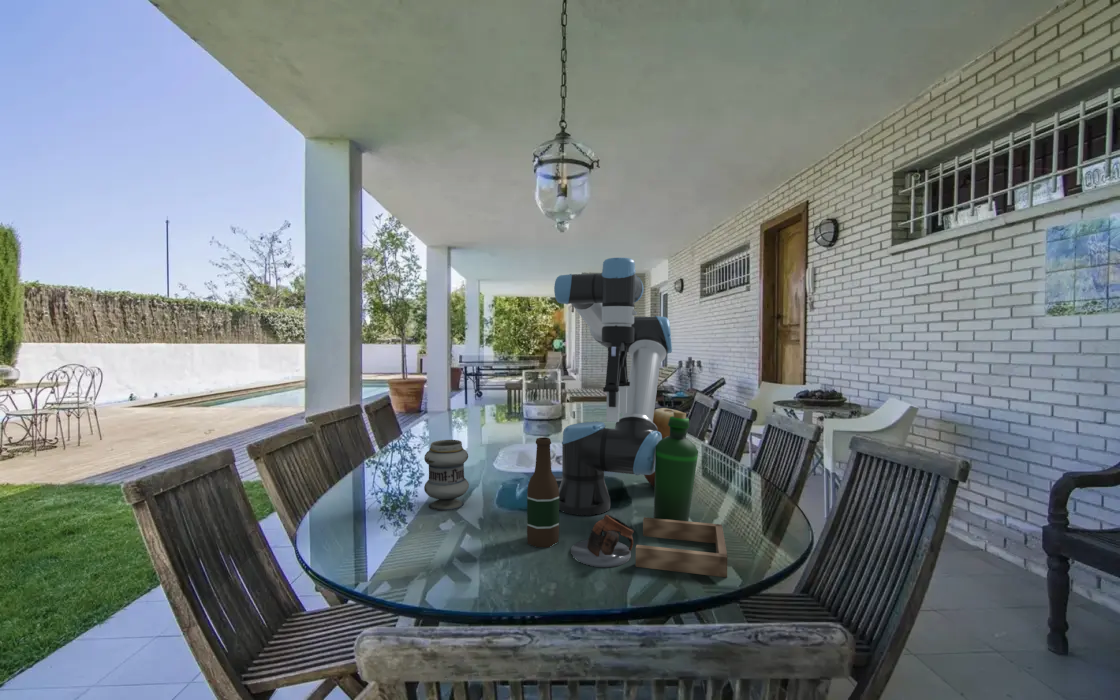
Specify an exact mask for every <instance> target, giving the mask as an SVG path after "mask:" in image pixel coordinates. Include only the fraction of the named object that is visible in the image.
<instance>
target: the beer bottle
mask: <svg viewBox="0 0 1120 700" xmlns="http://www.w3.org/2000/svg"><path fill="white" fill-rule="evenodd" d="M535 444H536V450H535V451H536V452H535V466H534V467H535V468H534V472H533V474H532V475H531V477H530V478H529V481H528V485H527V492H526V494H527V495H526V499H527V500H526V501H527V502H526V503H527V504H526V506H527V507H526V513H527V514H526V534H527V536H526V537H527V544H528V545H529V544H531V545H530V546H532V545H533V546H532V547H534V546H536V547H535V548H537V547H543V548H551V547H550V546H552V545H553V544H555V543H557V542H558V543H559V539H560V511H559V484H558V482H557V478H556V477H555V475H554V474H553V470H552V459H551V458H552V457H551V456H552V455H551V444H552V442H551V438H550V437H547V436H544V437H542V436H541V437H537V438H536V441H535ZM552 547H553V546H552Z"/></svg>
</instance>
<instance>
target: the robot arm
mask: <svg viewBox="0 0 1120 700" xmlns="http://www.w3.org/2000/svg"><path fill="white" fill-rule="evenodd" d="M635 262H636V261H635V260H634V259H633V258H630V257H610V258H607V259H604V261H603V263H602V269H601V270H602V271H601V273H573V274H572V273H569V274H560V275H559V276H557V277H556V278H555V280H554V286H553V287H554V290H553V291H554V296H555V297H554V298H555V300H556V301H557V303H559V304H564V305H572V307H573V308H574V309H575V311H576V312H577V313H578V315H579V316H580V317H581V318H582V319H583V321H584V322H585V323H586V325H587V326H588V327H589V332H590V336H592V338H593V339H594V340H595V341H596V342H598V344H599V345H602V346H603V347H604V348H607V361H606V362H607V363H606V364H607V365H606V374H605V385H604V387H603V388H602V391H603V392H604V393H606V413H605V414H606V418H605V419H606V420H605V421H606V422H607V423H608V422H609V423H611V422H612V423H613V422H614V423H615V425H614V428H608V427H606V424H605V423H604V421H585V422H578V423H572V424H570V425H568V426H566V427H565V428H564V429H563V431H562V442H561V445H562V447H561V448H562V449H561V450H562V456H561V458H562V459H561V460H562V469H561V474H562V475H561V482H560V484H559V486H558V488H559V510H561V511H564V512H566V513H565V514H567V513H570V514H569V515H572V514H578V515H577V516H584V515H586V516H596V515H595V514H597V515H602V514H604V512H605V513H607V512H608V511H609V510H610V509H611V497H610V495H609V491H608V487H607V485H606V484H607V483H606V481H605V473H607V472H608V473H618V474H627V475H635V476H640V475H641V476H644V475H651V474H653V473H654V472H655V457H656V445H657V444H658V442H659V441H660V440H661V439H662V435H661V433H660V432H658V431H657V426H656V425H655V424H654V423H653V417H654V410H655V408H656V401H657V399H656V398H657V391H658V383H659V376H660V366H661V363H662V362H663V361H664V360H666V357H667V354H671V353H673V346H672V345H673V342H672V333H671V332H672V331H671V323H670V320H669V318H668V317H667V316H659V315H654V316H637V315H638V311H636V310H635V303H636V302H638V301H639V300H640V299H641V298H642V296H643V294H644V290H645V289H644V284H643V281H642V280H641V278H640V277H639V276H638V275H637V274H636V263H635ZM628 355H629V356H630V358H631V362H630V363H631V364H630V369H629V374H628V359H627V357H628ZM620 414H622V416H621V417H620ZM561 511H560V512H561ZM606 511H607V512H606ZM564 512H563V513H564ZM601 513H602V514H601Z"/></svg>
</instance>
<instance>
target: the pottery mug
mask: <svg viewBox="0 0 1120 700" xmlns="http://www.w3.org/2000/svg"><path fill="white" fill-rule="evenodd" d="M634 532H635V530H634V529H633V528H632V527H630V526H629V525H627V524H626V523H624V522H623V521H621V520H619V519H617V518H616V517H614V516H611V515H609V514H605V515H604V517H603V518H601V519H600V520H598V521H596V522H595V523H594V525H593V527H592V529H591V531H590V533H589V534H590V535H589V537H588V539H589V540H588V539H587V540H588V545H587V548H588V550H589V551H590V552H592V553H593V554H594V555H596V556H599V552H600V550H601V551H602V553H603V554H604V555H612V553H613V551H614V548H615V546H616V544H617V542H620V539H619V538H620V536H623V537H624V538H627V539H628V542H629V543H630V544H629V550H630V551H632V550H633V547H634V546H633V545H634V538H633V534H634ZM603 534H604V535H603Z"/></svg>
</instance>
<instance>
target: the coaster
mask: <svg viewBox="0 0 1120 700" xmlns="http://www.w3.org/2000/svg"><path fill="white" fill-rule="evenodd" d="M588 540H589V538H588V539H584V540H580V541H577V542H575V543H574V544H572V546H571V548H570V555H571V554H572V555H573V557H574V558H576V559H577V560H578V561H580V562H581V563H580V564H582V563H583V564H582V565H584V564H586V565H585V566H588V565H590V566H589V567H593V566H594V567H595V568H611V567H619V566H621V565H624V564H627V562H628V561H630V559H631V557H632V556H631V554H632V552H631V551H632V550H631V551H630V550H629V548H630V546H629V547H628V545H626V544H625V543H622V542H620V541H618V542H617V544H616V546H615V548H614V551H613V553H612V555H604V554H603V553H602V551H601V550H600V552H599V556H596V555H594V554H593V553H592V552H590V551H589V550H588V548H587V545H588ZM573 557H572V558H573Z"/></svg>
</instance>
